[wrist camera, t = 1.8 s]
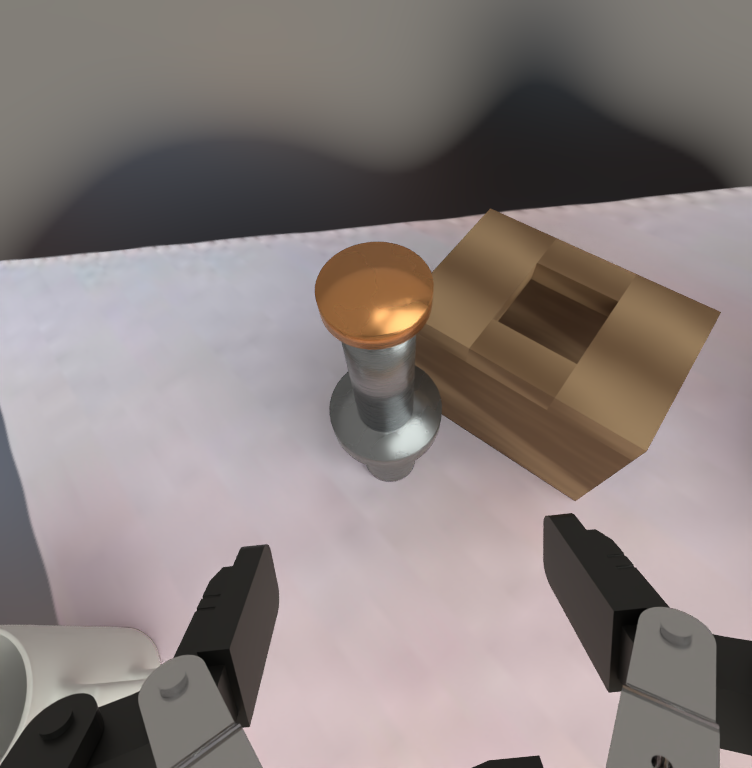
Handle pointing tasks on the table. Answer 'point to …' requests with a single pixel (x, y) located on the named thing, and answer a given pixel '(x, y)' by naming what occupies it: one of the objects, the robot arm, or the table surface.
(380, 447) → the pin
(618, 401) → the wooden block with hole
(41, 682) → the mug
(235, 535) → the table surface
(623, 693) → the robot arm
